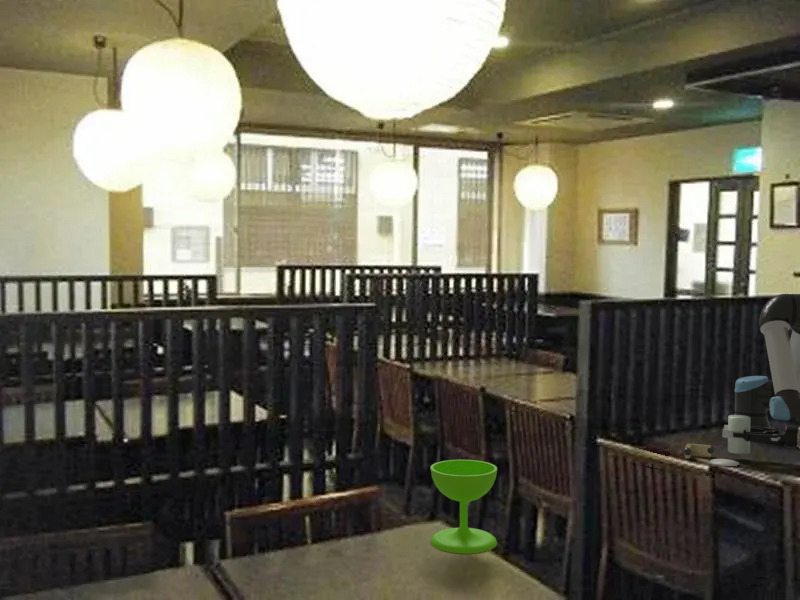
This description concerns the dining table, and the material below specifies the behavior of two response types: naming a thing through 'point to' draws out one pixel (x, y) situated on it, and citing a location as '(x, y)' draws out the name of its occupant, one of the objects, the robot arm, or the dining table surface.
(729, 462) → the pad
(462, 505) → the wineglass
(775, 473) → the dining table surface
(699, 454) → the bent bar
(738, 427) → the tall sage cylinder
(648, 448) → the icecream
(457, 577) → the dining table surface
